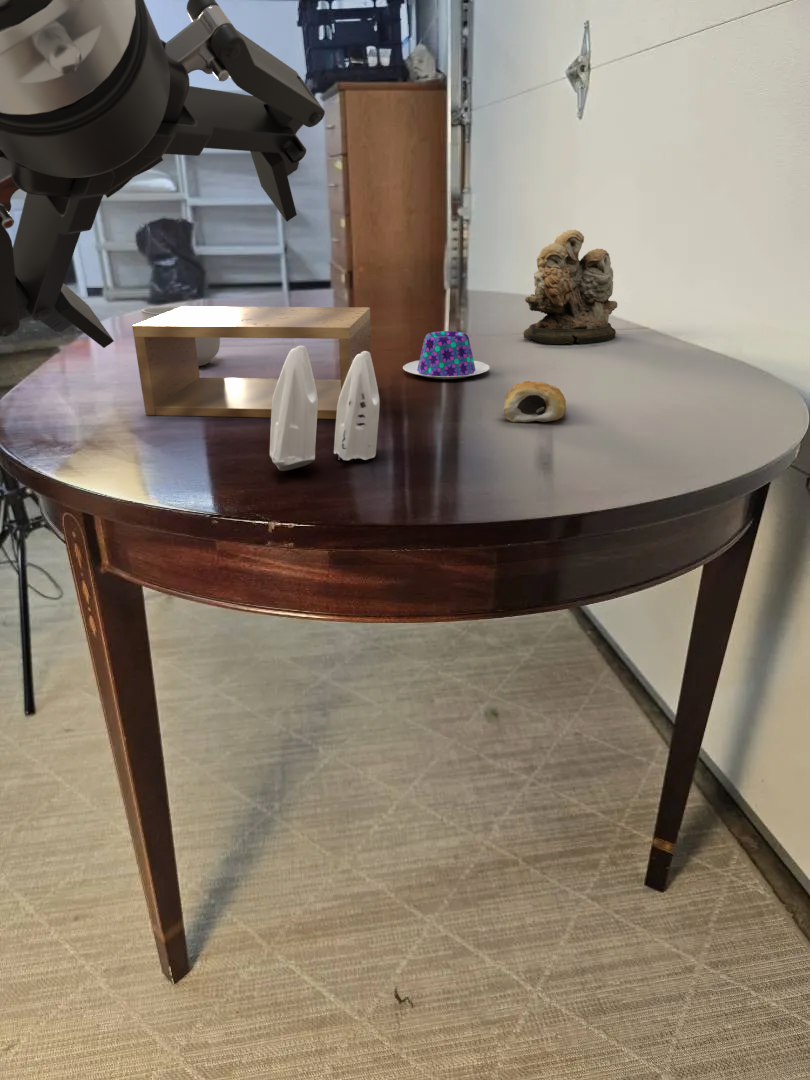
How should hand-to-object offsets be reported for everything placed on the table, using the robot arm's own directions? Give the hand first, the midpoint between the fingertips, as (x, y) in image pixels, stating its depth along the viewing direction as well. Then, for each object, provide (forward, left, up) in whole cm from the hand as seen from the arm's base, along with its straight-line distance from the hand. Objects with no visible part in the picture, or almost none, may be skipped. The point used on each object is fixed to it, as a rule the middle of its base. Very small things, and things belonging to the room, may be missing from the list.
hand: (188, 263), depth 47 cm
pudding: (+13, +59, -19) cm, 63 cm away
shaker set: (+4, +19, -19) cm, 27 cm away
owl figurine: (+32, +87, -19) cm, 94 cm away
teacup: (-25, +61, -19) cm, 69 cm away
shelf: (-8, +42, -19) cm, 47 cm away
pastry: (+24, +38, -19) cm, 49 cm away
